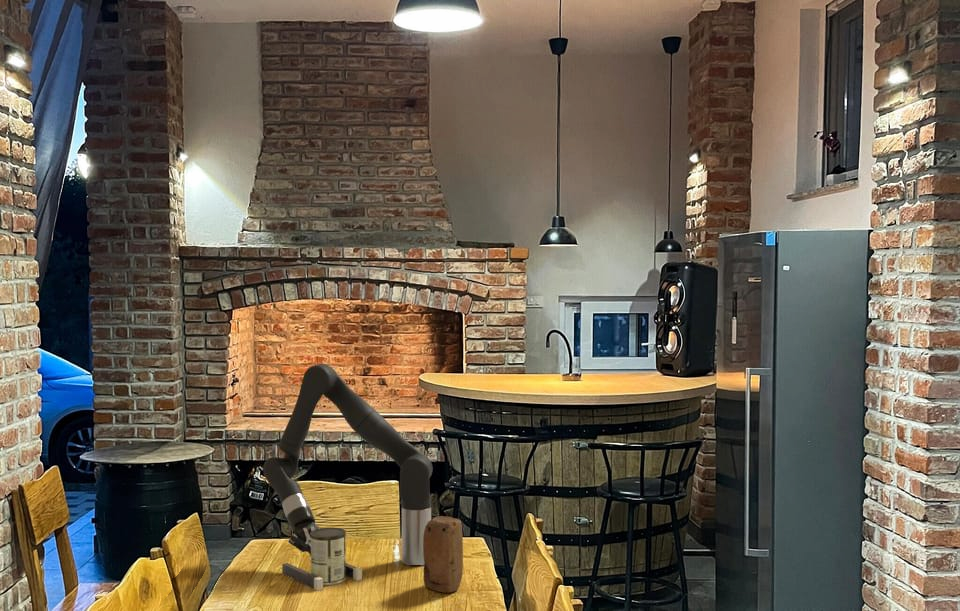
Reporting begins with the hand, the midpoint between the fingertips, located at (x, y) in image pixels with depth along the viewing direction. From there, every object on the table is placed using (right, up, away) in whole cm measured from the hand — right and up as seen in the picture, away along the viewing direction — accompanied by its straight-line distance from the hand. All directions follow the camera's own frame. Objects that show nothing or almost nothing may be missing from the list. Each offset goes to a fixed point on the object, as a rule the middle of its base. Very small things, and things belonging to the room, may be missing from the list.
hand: (318, 561), depth 260 cm
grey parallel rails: (+1, -4, -1) cm, 5 cm away
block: (+37, -5, -12) cm, 39 cm away
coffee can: (+4, -4, -4) cm, 7 cm away
